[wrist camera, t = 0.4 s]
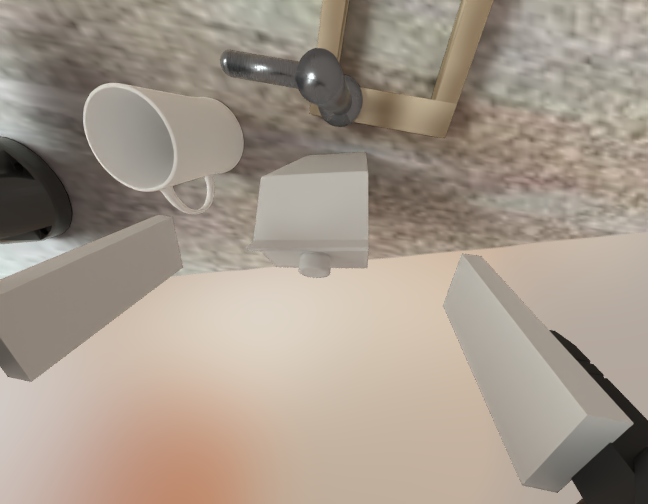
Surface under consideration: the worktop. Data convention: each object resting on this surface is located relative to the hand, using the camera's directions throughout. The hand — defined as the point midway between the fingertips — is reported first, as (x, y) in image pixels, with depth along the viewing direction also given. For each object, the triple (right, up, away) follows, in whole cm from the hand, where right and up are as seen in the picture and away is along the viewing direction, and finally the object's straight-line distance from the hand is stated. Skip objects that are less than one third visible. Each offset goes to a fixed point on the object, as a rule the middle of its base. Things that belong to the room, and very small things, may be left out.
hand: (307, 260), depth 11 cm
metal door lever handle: (+1, +17, +16) cm, 23 cm away
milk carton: (+2, +9, +20) cm, 22 cm away
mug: (-13, +13, +20) cm, 27 cm away
